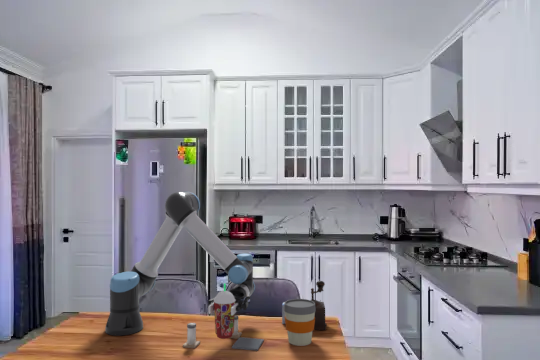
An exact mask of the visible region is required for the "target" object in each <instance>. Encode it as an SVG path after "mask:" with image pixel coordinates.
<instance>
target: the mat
mask: <svg viewBox="0 0 540 360" xmlns="http://www.w3.org/2000/svg"><path fill="white" fill-rule="evenodd" d="M264 340H265V339H264V338H255V337H254V338H253V337H241V336H240V337H239V338H238V339H236V341H235V342H234V343H233V344H232V346H231V349H235V350H247V351H259V349H260V348H261V346H262V344H263V342H264Z"/></svg>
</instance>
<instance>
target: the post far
mask: <svg viewBox="0 0 540 360" xmlns="http://www.w3.org/2000/svg"><path fill="white" fill-rule="evenodd" d="M242 335H243V333H242V331H239V315H238V314H235V318H234V333H233V334H232V337H230V338H229V339H236V340H238V338H239V337H241V336H242Z"/></svg>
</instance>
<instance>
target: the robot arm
mask: <svg viewBox="0 0 540 360" xmlns="http://www.w3.org/2000/svg"><path fill="white" fill-rule="evenodd" d="M200 208H201V200H200V199H199V197H198V196H197V195H196V194H195V193H193V192H190V191H176V192H173V193H171V194H170V195H169V196H168V197H167V198H166V201H165V203H164V209H165V213H164V214H165V219H164V221H163V223H162V224H161V226H160V228H159V229H158V230H157V232H156V234H155V236H154V238H153V239H152V241H151V242H150V245H149V246H148V248H147V249H146V251H145V253H144V255H143V256H142V258H141V260H140V261H137V262H136V263H134V265H133V267H132V268H131V270H130V271H123V272H117V273H116V274H113V276H112V277H111V278H110V283H109V315H108V318H107V321H106V323H105V326H104V327H105V333H106V335H110V336H128V335H132V334H133V335H134V334H136V333H139V332H141V331H142V330H143V329H144V322H143V318H142V316H141V313H140V298H141V297H142V296H145V295H147V294H148V293H150V292H151V291H152V290H153V289H154V287H155V285H156V279H157V277H158V276H159V272H158V270H159V267H160V266H161V265H162V263H163V261H164V260H165V258H166V256H167V255H168V253H169V251H170V249H171V247H172V246H173V244H174V242H175V240H176V239H177V237H178V236H179V234H180V232H181V231H182V229H184V230H185V231H186V232H187V233H188V234H189V235H190V236H191V237H192V238H193V239H194V240H195V241H196V242H197V243H198V245H199V246H201V248H203V250H204V251H205V252H207V254H208V255H209V256H210V257H211V258H212V259H213V260H214V261H215V262H216V263H217V264H218V265H219V266H220V268H222V270H224V272H225V273H226V274H227V276H228V279H229V281H230V282H231V283H232V284H235V286H233V287H232V288H231V289H230V290H228V291H229V292H231V293H232V294H233V296H234V298H235V299H236V301H235V305H234V306H233V307H231V315H234V314H235V315H236V313H237V312H240V311H241V310H242V309H243V311H247V308H248V306H249V304H250V303H251V296H252V295H253V294H254V292H255V290H256V284H255V282H254V257H253V255H252V254H251V253H239V254H237V255H236V254H234V252H233V251H232V250H231V249H230V248H229V247H228V246H227V245H226V244H225V243H224V242H223V241H222V239H220V238H219V236H218V235H216V233H215V232H214V231H213V230H212V229H211V228H209V226H208V225H207V224H206V222H204V220H202V219H201V217H199V216H198V214H197V213H199V211H200ZM214 299H215V297H212V298H211V299H209V300H207V301H208V304H207V305H208V306H207V307H208V308H207V309H208V310H207V311H208V313H207V314H209V315H210V314H212V313H213V312H214Z"/></svg>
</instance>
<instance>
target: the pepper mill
mask: <svg viewBox="0 0 540 360" xmlns="http://www.w3.org/2000/svg"><path fill="white" fill-rule="evenodd" d="M315 284H316V287H317V290H315V289H314V288H313V287H312V288H311V289H310V290H311V291H310V293H311V299H310V300H311V301H313V302H315V308H316V311H315V315H314V317H315V324H314V330H313V331H326V330H327V328H326V327H327V323H326V306H325V305H326V304H325V303H324V301H322V300H321V299H319V300H317V299H315V297H314V295H315V294H319V293H322V292H324V287H325V285H326V284H325V282H324V281H323V280H318V281H316V283H315ZM314 290H315V291H314Z"/></svg>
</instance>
